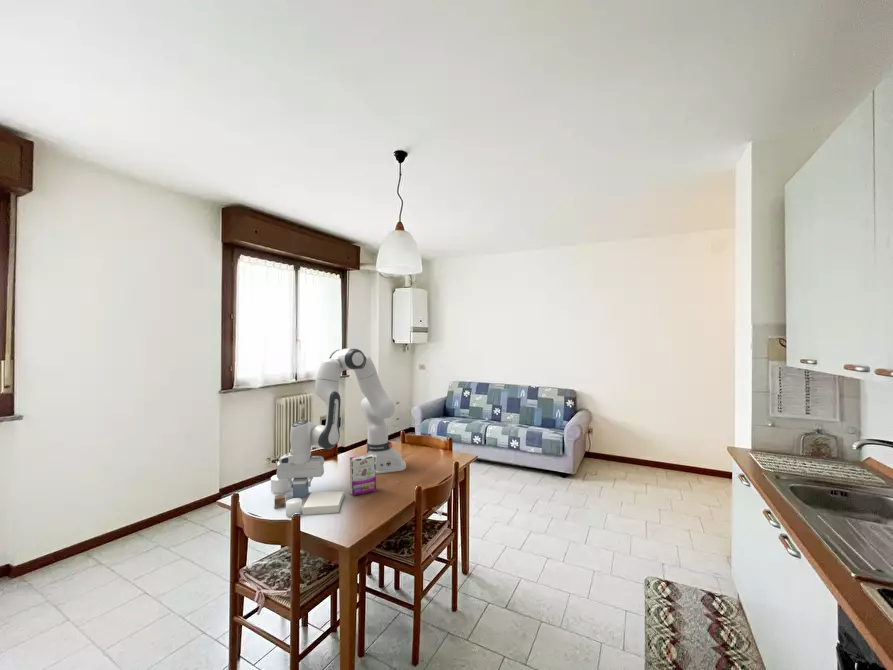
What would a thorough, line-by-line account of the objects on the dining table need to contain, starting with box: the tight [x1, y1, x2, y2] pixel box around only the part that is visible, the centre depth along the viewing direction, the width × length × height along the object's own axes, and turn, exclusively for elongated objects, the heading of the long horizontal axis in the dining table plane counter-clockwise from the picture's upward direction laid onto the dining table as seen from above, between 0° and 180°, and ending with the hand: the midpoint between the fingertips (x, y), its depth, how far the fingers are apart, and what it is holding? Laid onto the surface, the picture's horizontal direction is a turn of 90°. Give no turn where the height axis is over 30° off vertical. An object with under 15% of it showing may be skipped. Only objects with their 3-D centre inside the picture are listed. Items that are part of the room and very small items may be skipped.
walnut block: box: [273, 493, 286, 510], centre depth 156 cm, size 4×4×4 cm
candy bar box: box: [349, 454, 377, 497], centre depth 169 cm, size 11×5×16 cm, turn 117°
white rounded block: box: [285, 497, 303, 518], centre depth 149 cm, size 6×6×5 cm
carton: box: [292, 477, 310, 499], centre depth 166 cm, size 6×6×8 cm
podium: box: [302, 490, 345, 516], centre depth 155 cm, size 14×14×3 cm
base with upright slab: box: [270, 461, 292, 494], centre depth 173 cm, size 9×9×12 cm
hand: (300, 486), depth 166 cm, fingers closed on carton, 5 cm apart
